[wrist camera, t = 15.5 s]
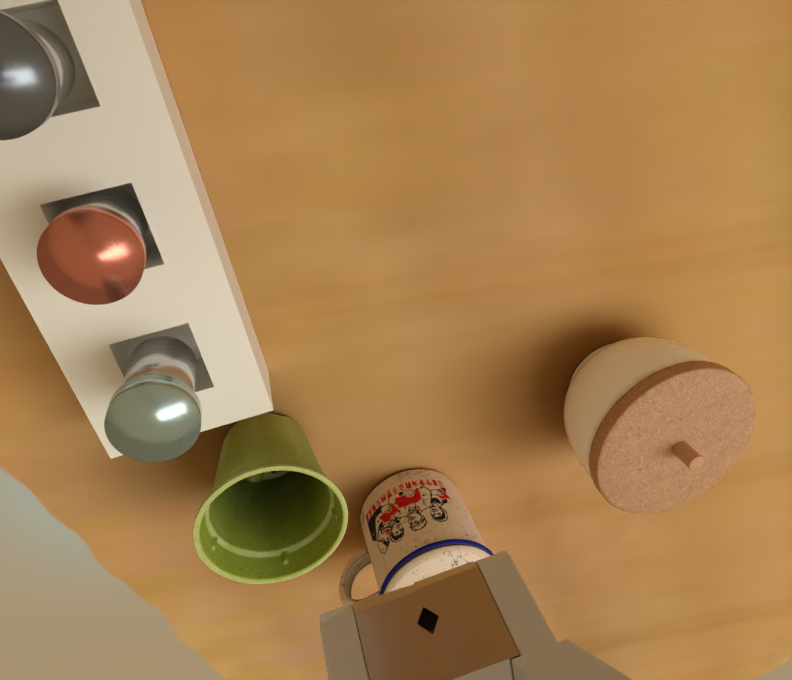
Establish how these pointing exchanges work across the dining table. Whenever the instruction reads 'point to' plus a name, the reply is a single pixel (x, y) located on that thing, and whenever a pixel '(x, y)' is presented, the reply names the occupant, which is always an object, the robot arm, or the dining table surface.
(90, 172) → the block
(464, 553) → the printed white mug
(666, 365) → the lidded bowl
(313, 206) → the dining table surface
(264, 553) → the plant pot
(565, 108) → the dining table surface
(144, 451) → the plug
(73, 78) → the plug
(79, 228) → the brick-red plug
